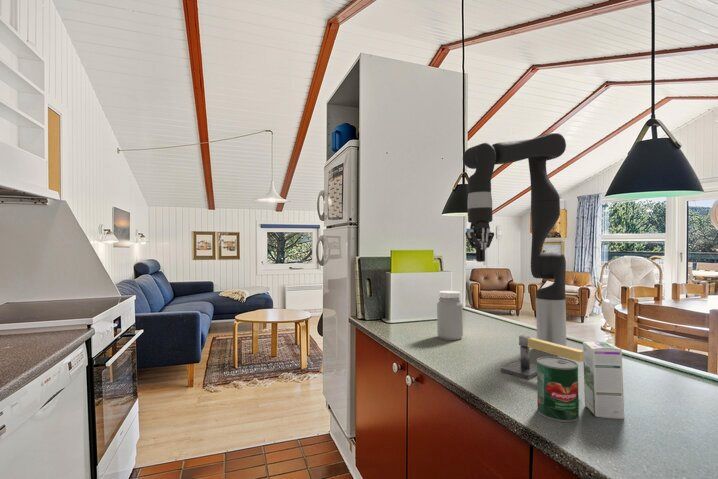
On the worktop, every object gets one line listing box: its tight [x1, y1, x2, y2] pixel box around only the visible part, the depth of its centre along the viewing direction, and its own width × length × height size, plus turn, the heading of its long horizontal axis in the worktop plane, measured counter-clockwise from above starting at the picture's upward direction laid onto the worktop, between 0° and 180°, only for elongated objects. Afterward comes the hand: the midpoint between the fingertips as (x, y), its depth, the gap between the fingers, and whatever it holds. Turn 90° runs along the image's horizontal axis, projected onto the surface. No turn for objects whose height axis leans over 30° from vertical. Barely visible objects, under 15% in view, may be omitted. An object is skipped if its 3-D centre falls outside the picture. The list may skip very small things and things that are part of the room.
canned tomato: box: [536, 356, 580, 423], centre depth 79 cm, size 8×8×11 cm
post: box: [500, 345, 537, 380], centre depth 106 cm, size 10×8×7 cm
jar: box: [436, 290, 464, 341], centre depth 146 cm, size 10×10×18 cm
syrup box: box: [582, 341, 625, 420], centre depth 80 cm, size 6×6×14 cm
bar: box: [518, 335, 583, 363], centre depth 100 cm, size 18×3×2 cm, turn 26°
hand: (480, 261), depth 118 cm, fingers closed
